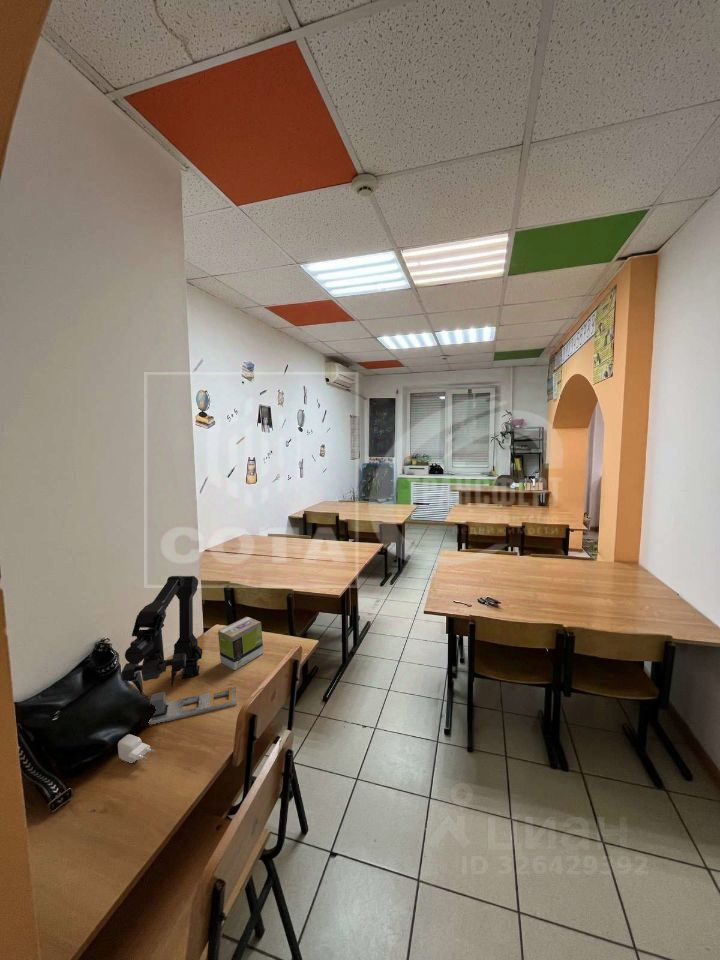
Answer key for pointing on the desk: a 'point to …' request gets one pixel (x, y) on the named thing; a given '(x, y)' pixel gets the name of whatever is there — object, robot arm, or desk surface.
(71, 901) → the desk surface
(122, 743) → the power adapter
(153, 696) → the nut block
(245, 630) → the tea box
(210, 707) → the rail
